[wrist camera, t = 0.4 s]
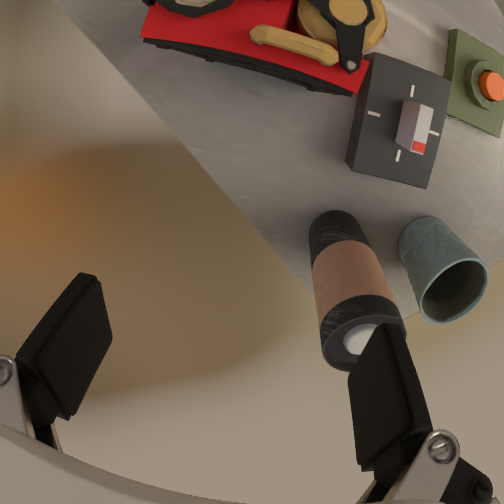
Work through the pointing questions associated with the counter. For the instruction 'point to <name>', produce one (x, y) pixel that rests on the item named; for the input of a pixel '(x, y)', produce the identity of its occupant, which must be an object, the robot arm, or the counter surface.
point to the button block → (473, 82)
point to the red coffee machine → (275, 36)
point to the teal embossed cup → (441, 270)
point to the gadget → (395, 120)
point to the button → (492, 85)
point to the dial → (414, 126)
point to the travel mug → (347, 288)
